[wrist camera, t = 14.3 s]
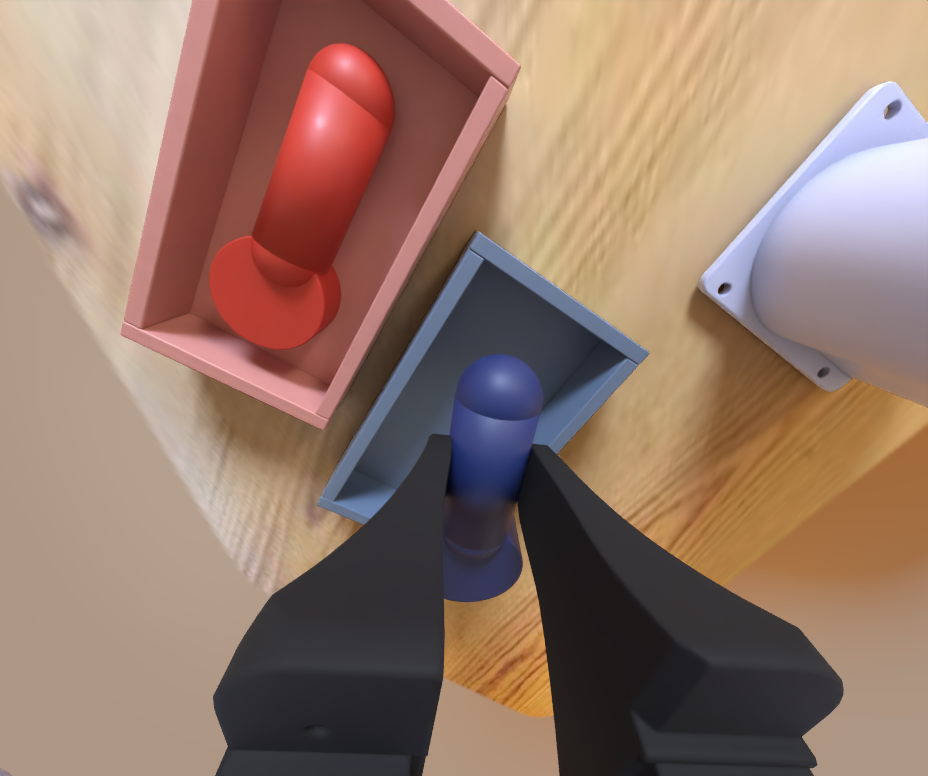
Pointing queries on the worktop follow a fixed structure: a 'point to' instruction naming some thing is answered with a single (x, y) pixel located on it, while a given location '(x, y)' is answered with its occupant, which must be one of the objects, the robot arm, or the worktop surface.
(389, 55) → the red bin
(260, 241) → the red rubber stamp
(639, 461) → the worktop surface
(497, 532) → the blue handle
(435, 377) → the blue bin
